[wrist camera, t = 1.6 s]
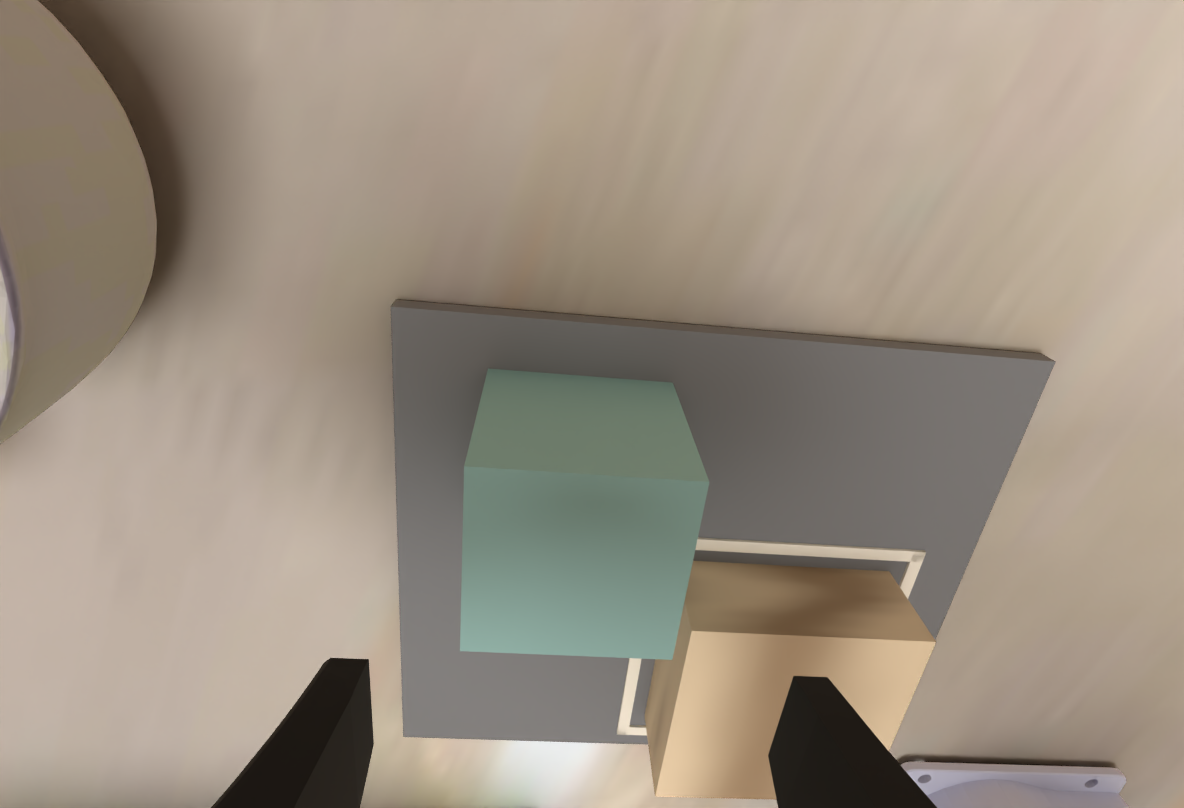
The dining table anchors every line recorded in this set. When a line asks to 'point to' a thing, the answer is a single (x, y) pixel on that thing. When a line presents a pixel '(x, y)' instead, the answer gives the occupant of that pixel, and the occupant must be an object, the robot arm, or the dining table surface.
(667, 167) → the dining table surface
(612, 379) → the teal block
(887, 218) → the dining table surface
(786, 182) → the dining table surface
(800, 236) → the dining table surface
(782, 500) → the grey flat slab
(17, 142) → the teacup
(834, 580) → the maple base
